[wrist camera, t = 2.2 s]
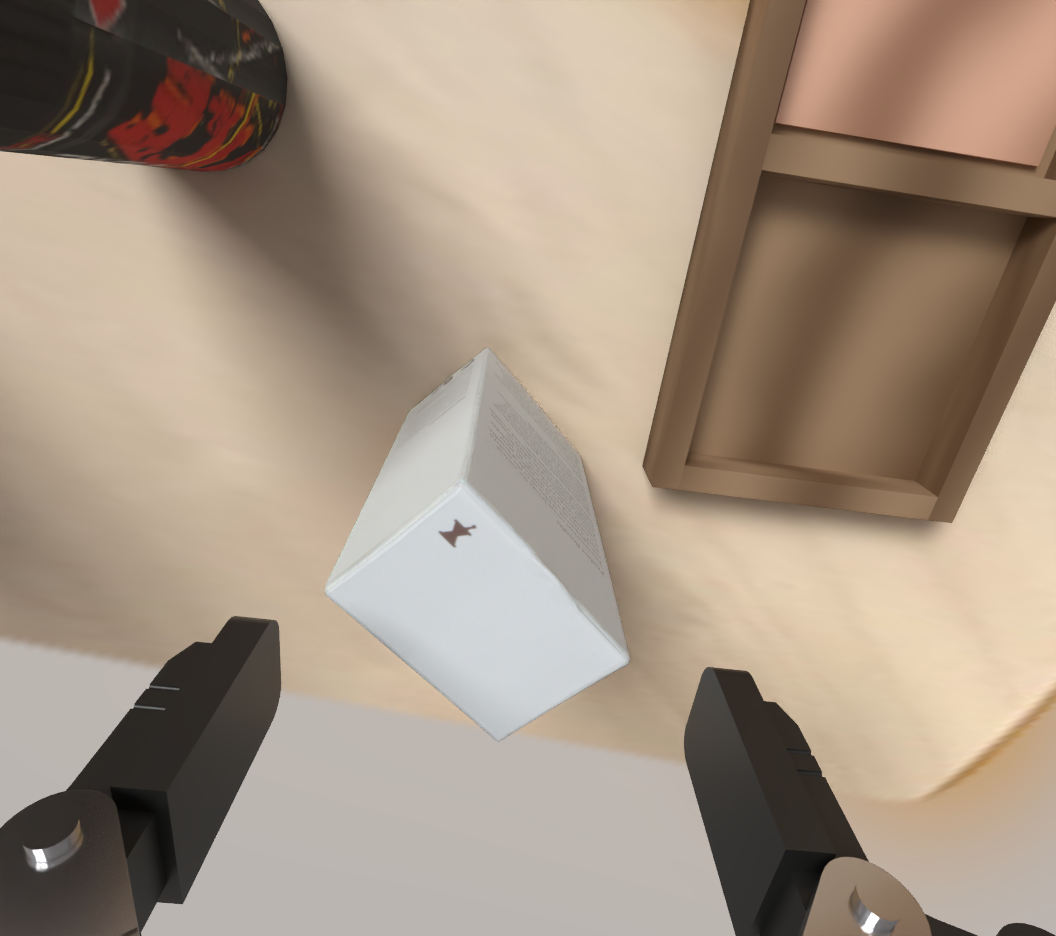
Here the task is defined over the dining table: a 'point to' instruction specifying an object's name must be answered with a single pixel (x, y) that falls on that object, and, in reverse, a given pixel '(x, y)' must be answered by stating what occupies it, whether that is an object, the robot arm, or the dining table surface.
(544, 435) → the skincare box
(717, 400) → the two-section desk tray
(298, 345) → the dining table surface
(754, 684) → the robot arm
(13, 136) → the deodorant
